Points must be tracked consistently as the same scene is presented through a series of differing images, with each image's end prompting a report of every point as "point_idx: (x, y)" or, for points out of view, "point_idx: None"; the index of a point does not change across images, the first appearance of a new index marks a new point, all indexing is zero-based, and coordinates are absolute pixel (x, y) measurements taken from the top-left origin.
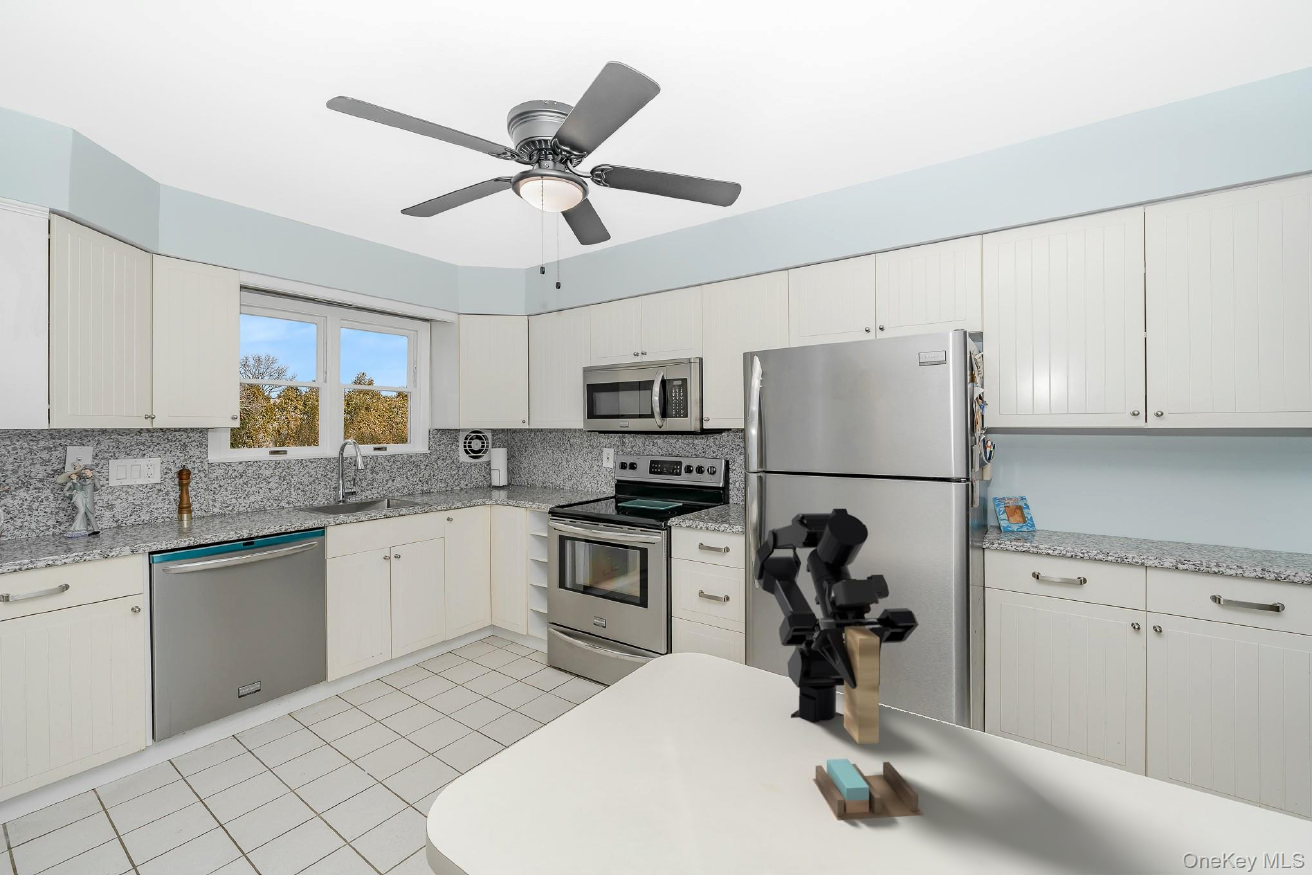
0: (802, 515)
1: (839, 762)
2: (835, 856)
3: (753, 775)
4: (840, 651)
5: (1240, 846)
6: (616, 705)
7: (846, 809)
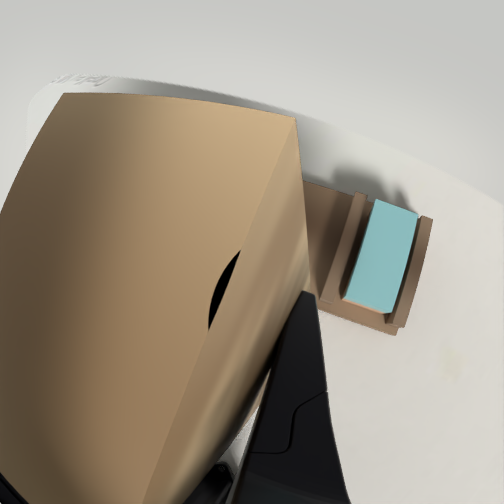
0: None
1: (373, 291)
2: (451, 190)
3: (453, 404)
4: (309, 435)
5: (63, 89)
6: None
7: None
